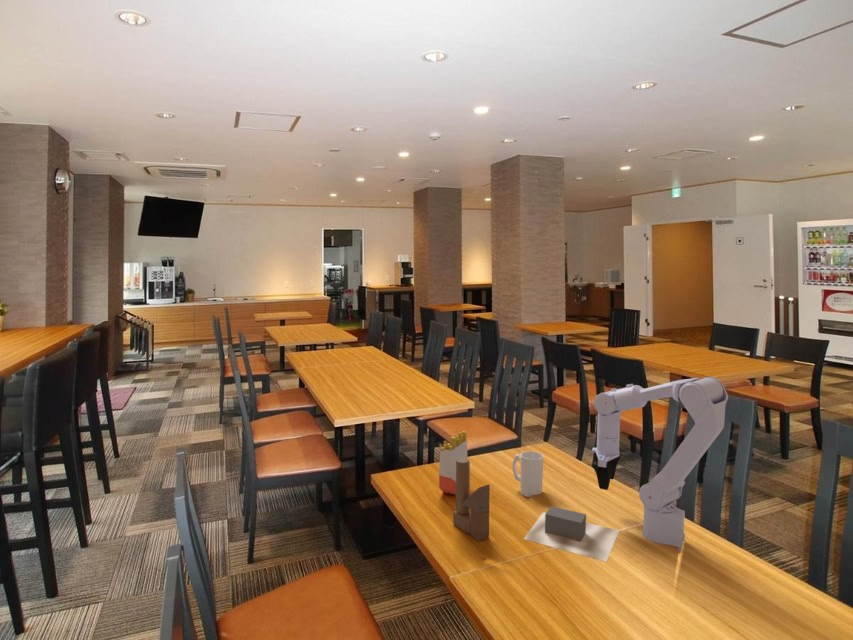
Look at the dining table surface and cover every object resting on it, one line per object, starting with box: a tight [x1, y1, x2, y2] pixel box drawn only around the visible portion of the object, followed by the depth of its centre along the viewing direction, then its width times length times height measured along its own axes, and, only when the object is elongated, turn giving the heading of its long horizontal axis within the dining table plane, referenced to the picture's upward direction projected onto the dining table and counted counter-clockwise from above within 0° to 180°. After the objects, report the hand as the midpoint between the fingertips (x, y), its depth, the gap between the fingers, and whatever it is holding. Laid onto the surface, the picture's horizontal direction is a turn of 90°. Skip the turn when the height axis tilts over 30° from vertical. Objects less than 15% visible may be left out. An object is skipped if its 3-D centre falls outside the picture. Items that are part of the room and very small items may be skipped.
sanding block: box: [545, 506, 587, 542], centre depth 132 cm, size 9×5×5 cm, turn 60°
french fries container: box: [438, 430, 468, 496], centre depth 159 cm, size 5×11×18 cm, turn 150°
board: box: [523, 511, 620, 563], centre depth 132 cm, size 20×16×1 cm
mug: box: [512, 450, 544, 498], centre depth 158 cm, size 10×7×12 cm, turn 47°
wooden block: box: [452, 458, 491, 542], centre depth 135 cm, size 4×11×18 cm, turn 35°
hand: (606, 483), depth 142 cm, fingers open, 7 cm apart
